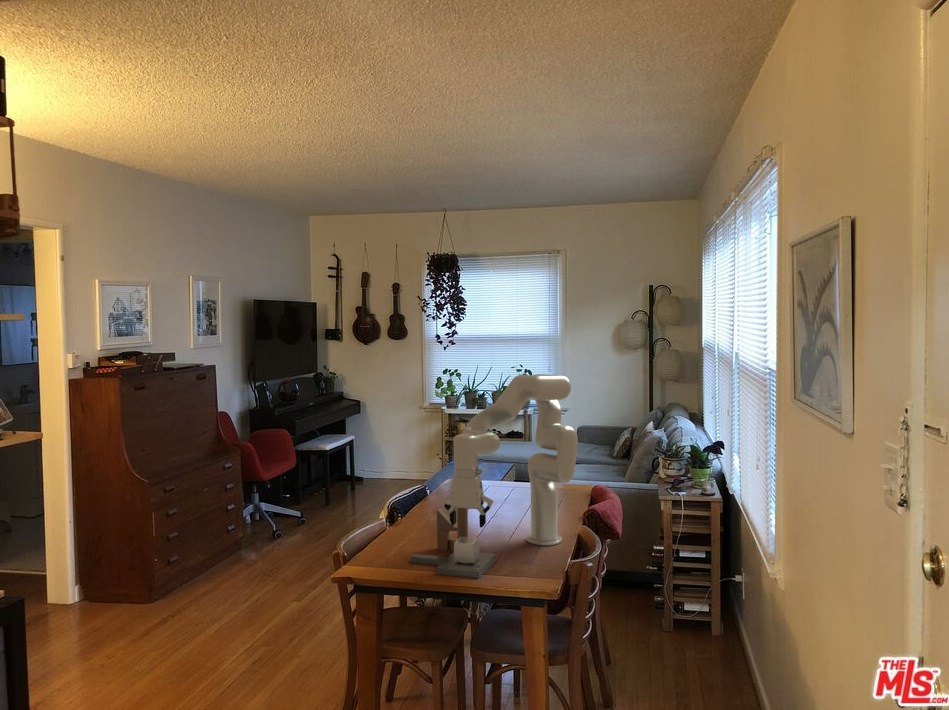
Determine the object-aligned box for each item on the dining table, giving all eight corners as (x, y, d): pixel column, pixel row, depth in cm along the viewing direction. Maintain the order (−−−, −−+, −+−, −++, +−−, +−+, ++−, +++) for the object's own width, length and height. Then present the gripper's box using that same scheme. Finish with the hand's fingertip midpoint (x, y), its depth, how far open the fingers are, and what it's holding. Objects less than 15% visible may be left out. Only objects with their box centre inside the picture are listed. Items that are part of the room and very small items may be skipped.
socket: (460, 554, 225) (460, 536, 225) (479, 556, 223) (479, 538, 223) (454, 561, 219) (453, 542, 219) (473, 562, 217) (473, 544, 217)
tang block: (422, 552, 235) (422, 533, 235) (495, 559, 227) (495, 539, 227) (401, 570, 218) (401, 549, 218) (479, 578, 210) (478, 556, 210)
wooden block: (440, 547, 241) (439, 496, 241) (469, 549, 239) (469, 498, 238) (437, 550, 238) (436, 499, 237) (467, 552, 235) (466, 500, 235)
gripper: (495, 471, 221) (496, 523, 222) (445, 469, 226) (446, 520, 227) (488, 476, 214) (490, 530, 215) (436, 474, 219) (438, 527, 220)
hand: (467, 525), depth 221 cm, fingers open, 9 cm apart
